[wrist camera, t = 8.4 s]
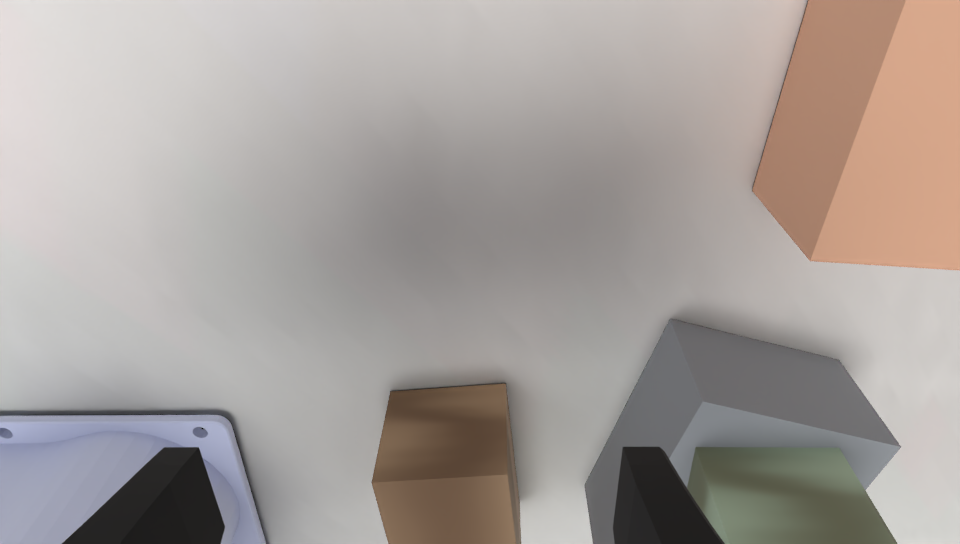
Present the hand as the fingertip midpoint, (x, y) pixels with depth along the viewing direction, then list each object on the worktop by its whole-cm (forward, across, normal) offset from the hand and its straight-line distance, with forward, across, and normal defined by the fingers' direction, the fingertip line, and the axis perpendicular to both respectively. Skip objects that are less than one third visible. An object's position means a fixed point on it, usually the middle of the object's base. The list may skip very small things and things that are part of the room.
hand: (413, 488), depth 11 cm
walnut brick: (+10, 0, +9) cm, 13 cm away
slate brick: (+10, -9, +8) cm, 15 cm away
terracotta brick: (+10, -11, -4) cm, 15 cm away
